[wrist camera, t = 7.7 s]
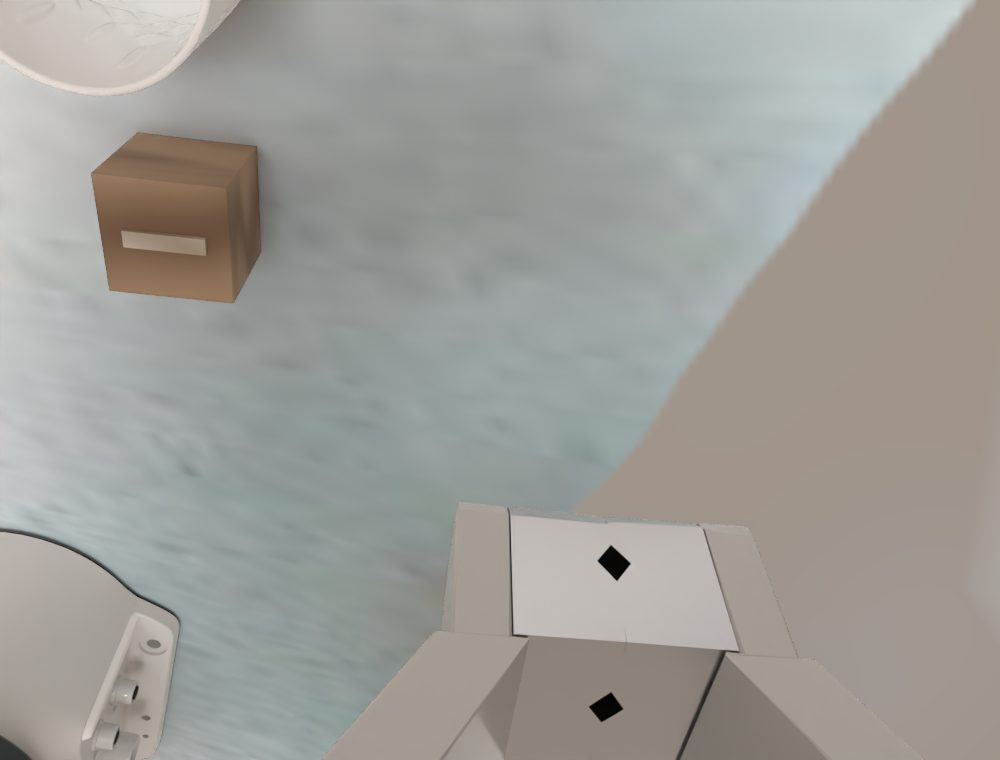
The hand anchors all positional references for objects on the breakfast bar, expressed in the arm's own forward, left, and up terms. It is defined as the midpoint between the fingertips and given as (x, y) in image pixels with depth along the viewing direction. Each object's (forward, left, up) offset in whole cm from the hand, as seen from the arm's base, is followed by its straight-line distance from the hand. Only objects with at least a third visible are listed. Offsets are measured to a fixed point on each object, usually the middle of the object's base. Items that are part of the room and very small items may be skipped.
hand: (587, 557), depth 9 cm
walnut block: (-9, +13, -29) cm, 33 cm away
